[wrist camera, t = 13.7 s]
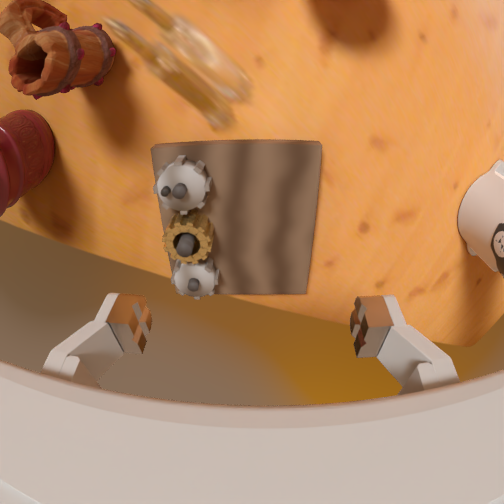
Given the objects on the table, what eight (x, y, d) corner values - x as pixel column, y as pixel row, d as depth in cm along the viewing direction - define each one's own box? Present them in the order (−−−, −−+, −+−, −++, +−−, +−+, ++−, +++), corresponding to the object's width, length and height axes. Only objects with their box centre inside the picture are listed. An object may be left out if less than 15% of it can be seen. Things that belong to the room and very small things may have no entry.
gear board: (318, 141, 36) (331, 157, 30) (304, 285, 50) (309, 316, 44) (155, 144, 36) (137, 161, 30) (178, 285, 50) (170, 315, 44)
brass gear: (212, 208, 39) (209, 222, 37) (216, 249, 43) (213, 264, 40) (165, 210, 40) (158, 223, 37) (172, 249, 43) (166, 264, 40)
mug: (135, 65, 30) (71, 72, 17) (88, 99, 32) (17, 128, 20) (91, -12, 22) (21, -29, 10) (48, 26, 24) (-27, 30, 12)
